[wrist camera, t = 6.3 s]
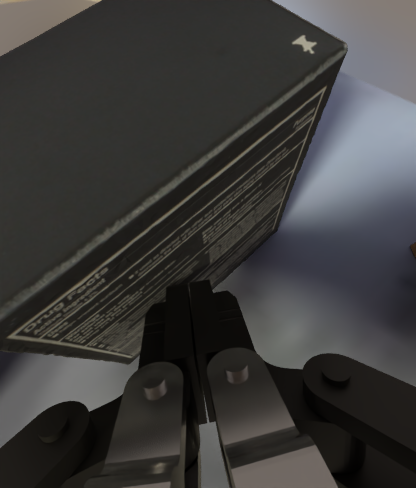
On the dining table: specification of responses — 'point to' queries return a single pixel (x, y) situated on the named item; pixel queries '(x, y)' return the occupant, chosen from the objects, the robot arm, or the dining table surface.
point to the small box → (146, 160)
